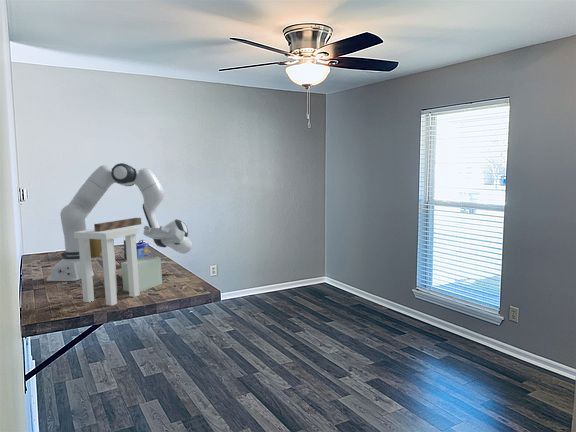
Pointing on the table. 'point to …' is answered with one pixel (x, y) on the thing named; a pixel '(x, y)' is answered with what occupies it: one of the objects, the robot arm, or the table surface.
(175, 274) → the table surface
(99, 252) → the plant pot
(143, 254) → the ink cartridge box
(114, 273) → the stool
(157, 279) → the pale green cuboid block
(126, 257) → the phone stand
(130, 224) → the wooden board
